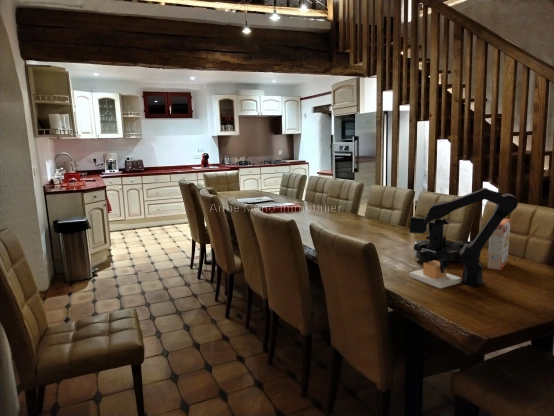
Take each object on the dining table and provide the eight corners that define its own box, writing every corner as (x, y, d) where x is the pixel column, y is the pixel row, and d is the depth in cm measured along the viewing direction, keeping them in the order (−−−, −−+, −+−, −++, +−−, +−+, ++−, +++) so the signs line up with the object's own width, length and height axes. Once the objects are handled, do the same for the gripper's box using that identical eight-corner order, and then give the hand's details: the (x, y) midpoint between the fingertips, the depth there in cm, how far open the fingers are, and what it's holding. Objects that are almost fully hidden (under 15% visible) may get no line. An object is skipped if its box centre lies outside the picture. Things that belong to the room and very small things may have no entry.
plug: (446, 280, 161) (446, 264, 160) (435, 283, 158) (435, 267, 157) (433, 275, 167) (434, 260, 165) (423, 278, 164) (423, 262, 163)
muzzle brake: (480, 265, 178) (481, 243, 176) (416, 264, 183) (416, 242, 181) (473, 259, 187) (474, 238, 185) (413, 258, 192) (413, 237, 191)
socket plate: (461, 282, 158) (461, 277, 157) (440, 288, 153) (440, 283, 152) (429, 271, 172) (429, 266, 172) (409, 276, 167) (409, 271, 166)
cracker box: (502, 271, 169) (504, 224, 165) (486, 268, 173) (489, 223, 169) (508, 262, 179) (511, 218, 176) (494, 260, 183) (496, 217, 179)
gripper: (469, 235, 154) (467, 273, 157) (431, 227, 171) (430, 261, 173) (450, 240, 149) (448, 278, 152) (413, 231, 166) (412, 265, 168)
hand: (435, 270), depth 162 cm, fingers open, 8 cm apart
